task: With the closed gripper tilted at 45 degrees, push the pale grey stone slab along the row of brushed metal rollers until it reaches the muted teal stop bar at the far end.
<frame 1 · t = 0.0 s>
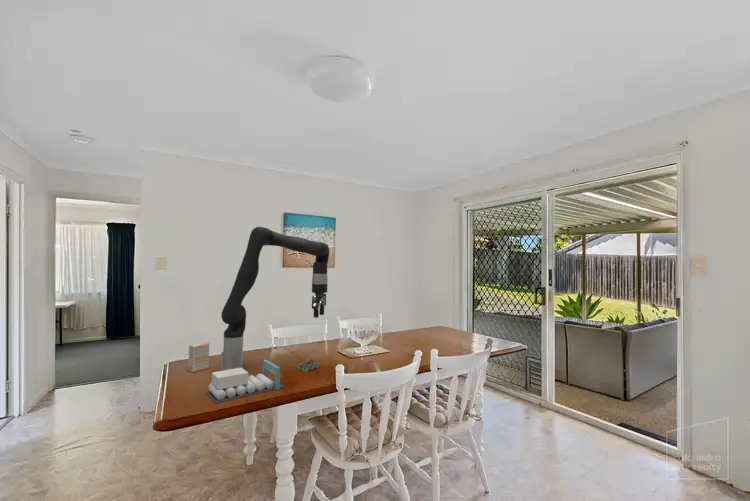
hand: (318, 316, 168), 29 cm above the table, tool pointing down, fingers open, 8 cm apart
supplement box: (198, 370, 174), on the table
egg carton: (308, 369, 180), on the table
slab: (230, 378, 144), point 6 cm above the table, slide at 0.0 cm
stop bar: (270, 384, 155), resting on roller bed
roller bed: (246, 390, 148), on the table
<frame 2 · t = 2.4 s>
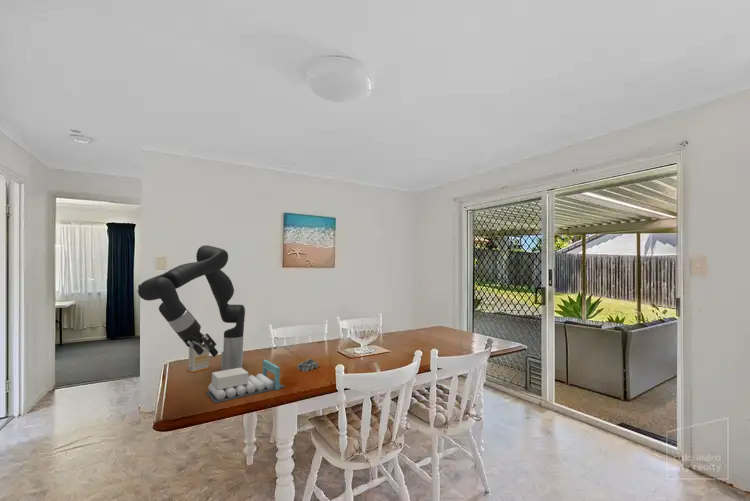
hand: (208, 353, 132), 20 cm above the table, tool tilted 40°, fingers open, 8 cm apart
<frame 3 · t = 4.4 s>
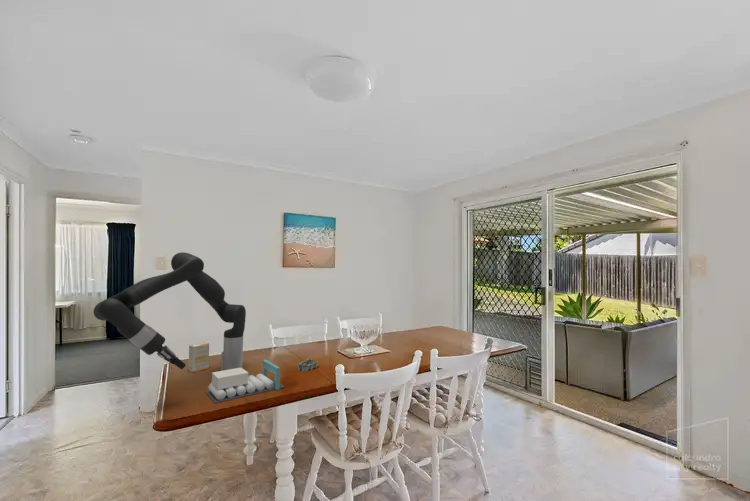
hand: (183, 366, 133), 14 cm above the table, tool tilted 45°, fingers closed
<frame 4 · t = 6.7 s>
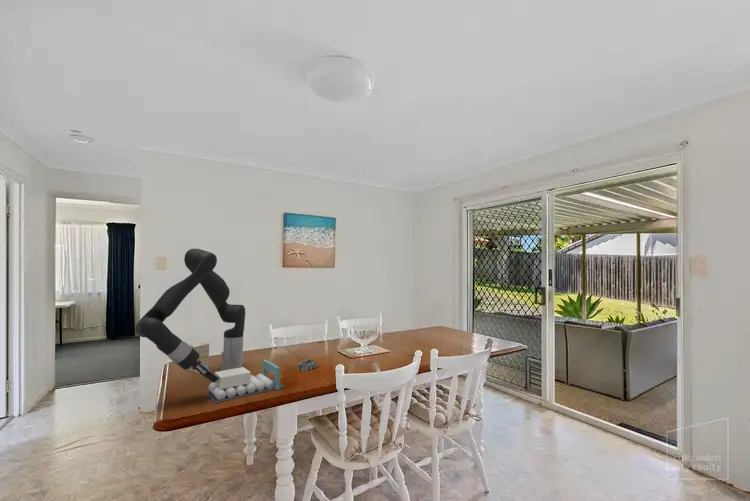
hand: (215, 380, 141), 7 cm above the table, tool tilted 45°, fingers closed
slab: (232, 377, 145), point 6 cm above the table, slide at 1.0 cm, touching gripper
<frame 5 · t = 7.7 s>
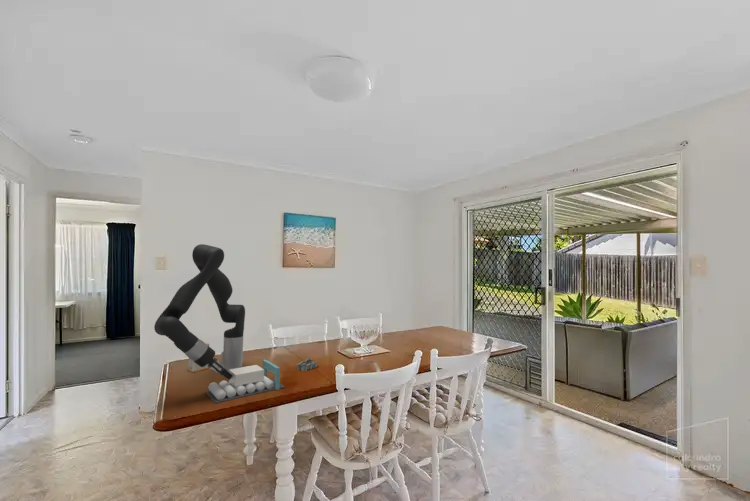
hand: (230, 377, 144), 7 cm above the table, tool tilted 45°, fingers closed
slab: (246, 374, 148), point 6 cm above the table, slide at 6.8 cm, touching gripper
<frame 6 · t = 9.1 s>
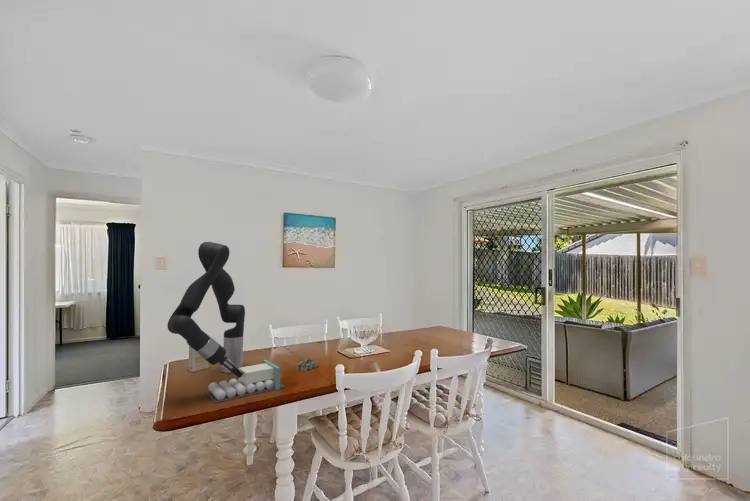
hand: (240, 375, 147), 7 cm above the table, tool tilted 45°, fingers closed
slab: (256, 373, 151), point 6 cm above the table, slide at 11.0 cm, touching gripper, stop bar
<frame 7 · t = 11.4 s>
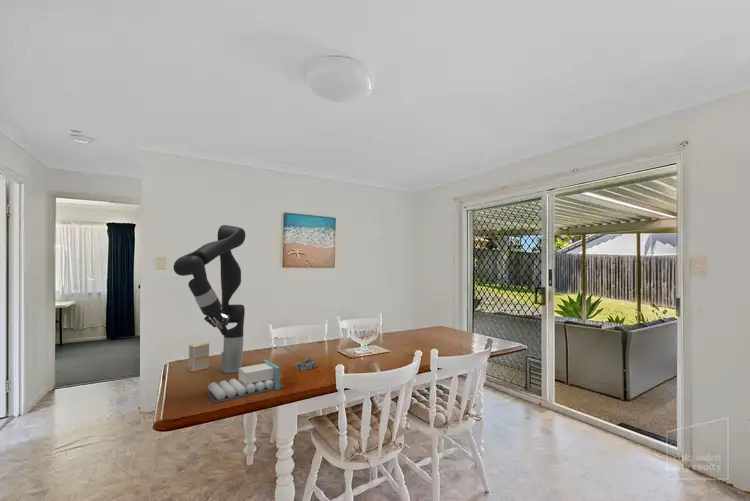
hand: (225, 333, 146), 24 cm above the table, tool tilted 30°, fingers closed
slab: (256, 373, 151), point 6 cm above the table, slide at 11.0 cm, touching stop bar
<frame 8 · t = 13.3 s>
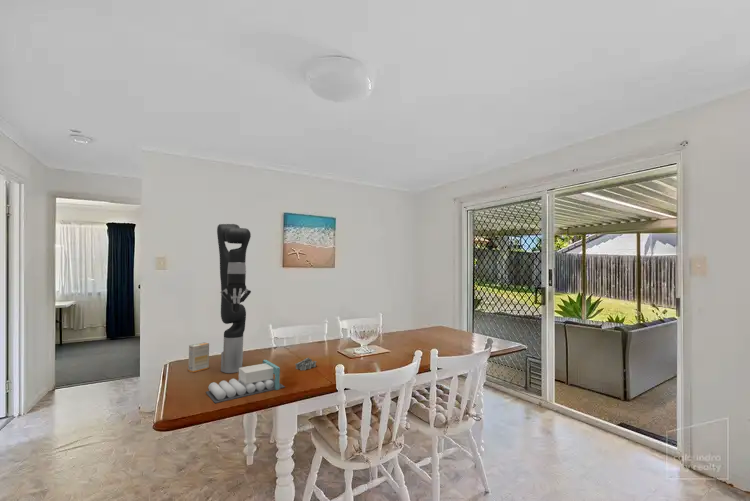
hand: (235, 312, 152), 33 cm above the table, tool pointing down, fingers closed
at the end: slab slide at 11.0 cm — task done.
